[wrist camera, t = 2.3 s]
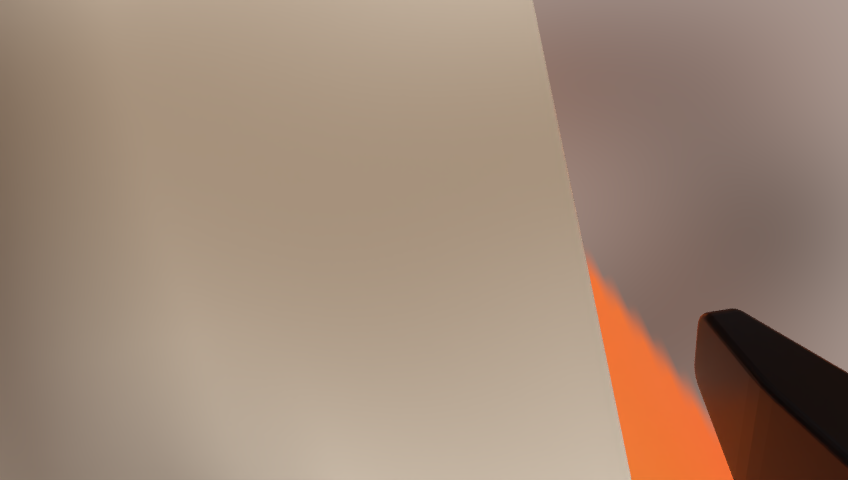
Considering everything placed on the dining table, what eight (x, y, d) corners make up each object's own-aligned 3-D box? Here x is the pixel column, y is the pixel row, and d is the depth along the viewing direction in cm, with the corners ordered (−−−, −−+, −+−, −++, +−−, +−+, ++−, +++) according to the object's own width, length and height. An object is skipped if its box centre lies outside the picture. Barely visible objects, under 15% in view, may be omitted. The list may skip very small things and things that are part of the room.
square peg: (502, 419, 18) (635, 505, 4) (302, 451, 18) (-178, 632, 4) (468, 224, 19) (491, -198, 5) (280, 255, 19) (-167, -84, 6)
